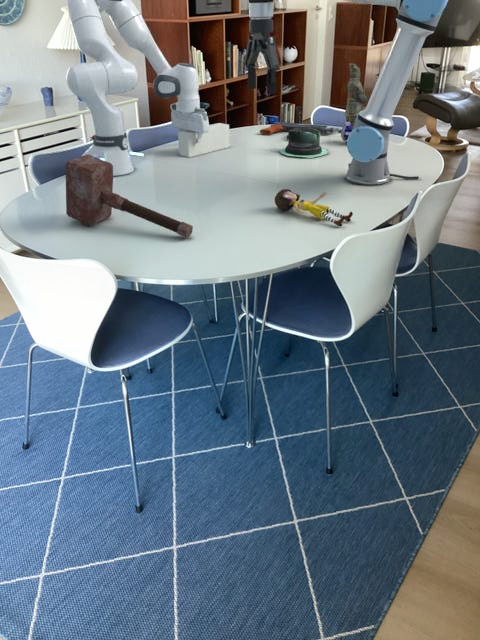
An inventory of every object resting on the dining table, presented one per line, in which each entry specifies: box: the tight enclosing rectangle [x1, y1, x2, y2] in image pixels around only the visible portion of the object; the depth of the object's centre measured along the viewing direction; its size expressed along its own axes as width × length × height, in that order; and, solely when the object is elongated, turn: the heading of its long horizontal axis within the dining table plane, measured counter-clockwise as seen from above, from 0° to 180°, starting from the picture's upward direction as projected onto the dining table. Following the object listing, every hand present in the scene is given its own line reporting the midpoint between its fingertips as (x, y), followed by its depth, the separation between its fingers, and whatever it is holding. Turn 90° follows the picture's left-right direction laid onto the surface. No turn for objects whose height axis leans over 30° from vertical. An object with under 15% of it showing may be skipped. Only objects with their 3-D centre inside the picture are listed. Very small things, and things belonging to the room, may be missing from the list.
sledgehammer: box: [65, 154, 194, 239], centre depth 159 cm, size 17×10×40 cm
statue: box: [344, 62, 368, 127], centre depth 262 cm, size 11×9×30 cm
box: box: [177, 122, 231, 158], centre depth 239 cm, size 24×6×10 cm, turn 135°
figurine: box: [274, 188, 354, 227], centre depth 167 cm, size 13×8×25 cm
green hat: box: [279, 128, 328, 159], centre depth 234 cm, size 15×19×20 cm
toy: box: [338, 121, 353, 142], centre depth 244 cm, size 9×9×15 cm
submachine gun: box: [259, 121, 335, 140], centre depth 264 cm, size 32×3×25 cm
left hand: (191, 141), depth 234 cm, fingers open, 8 cm apart
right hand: (261, 91), depth 184 cm, fingers open, 13 cm apart
